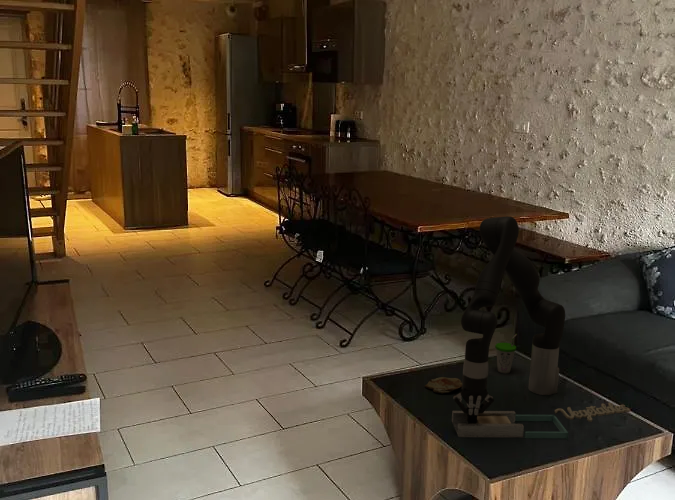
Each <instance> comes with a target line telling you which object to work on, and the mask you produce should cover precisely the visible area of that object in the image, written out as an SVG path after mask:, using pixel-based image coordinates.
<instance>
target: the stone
mask: <svg viewBox="0 0 675 500" xmlns="http://www.w3.org/2000/svg"><path fill="white" fill-rule="evenodd" d="M424 388H426V389H427V390H432V391H433V393H437V394H441V395H442V394H443V395H444V394H447V393H451V392H453V391H455V390H458V389H461V388H462V380H461V379H459V378H458V377H447V376H446V377H445V376H439V377H437V378H433V379H430V380H429V381H428V383H427V384H425V385H424Z"/></svg>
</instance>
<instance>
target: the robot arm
mask: <svg viewBox="0 0 675 500" xmlns="http://www.w3.org/2000/svg"><path fill="white" fill-rule="evenodd" d="M519 230H520V228H519V224H518V221H517V219H516V218H514V217H513V216H496V217H495V216H494V217H488V218H485V219H483V220H482V221H481V223H480V224H479V234H480V238H481V239H482V242H483V244H484V245H485V246H486V248H487V249H488V250H489V252H490V253H491V254H492V255H493V256H492V257H491V259H490V260H489V261H488V263H487V264H486V265H485V266H484V267H483V268H482V270H481V271H480V273H479V275H478V277H477V280H476V284H475V286H474V287H475V288H474V291H473V295H472V297H471V300H470V301H469V303H468V305H467V307H466V309H465V310H464V311H463V314H462V316H461V320H460V324H461V325H460V326H461V328H462V330H463V331H465V332H466V333H474V334H479V335H482V337H477V338H475V337H474V338H469V339H467V341H466V343H465V349H464V360H463V366H462V378H461V379H462V380H461V382H462V387H461V388H460V390H459V393H457V394H453V396H452V398H453V400H454V402H455V403H456V405H457V406H458V407H459V409H460V411H463V412H464V413H467V422H468V424H476V423H477V415H478V414H479V413H484V411H487V410H488V409H489V407H491V405H492V404H493V403H494V402H495V399H494V397H493V396H492V395H491V394H489V392H488V389H487V388H488V378H489V377H488V376H489V354H490V346H491V341H492V339H493V336H494V334H495V332H496V329H497V325H498V318H497V316H496V314H495V313H494V312H491V311H487V310H480V309H482V308H488V307H492V306H495V304H496V303H497V299H498V295H499V291H500V285H501V282H502V278H503V275H504V273H505V275H506V276H507V277H508V279H509V281H510V282H511V284H512V286H513V287H514V288H515V290H516V292H517V294H518V296H519V297H520V298H521V300H522V302H523V304H524V307H525V309H526V311H527V314H528V316H529V317H530V319H531V321H532V322H533V323H535V324H536V325H539V326H541V327H544V333H537V334H534V335H533V337H532V342H531V343H532V345H531V353H530V354H531V356H530V365H529V367H530V368H529V377H528V391H530V392H532V393H534V394H537V395H540V396H551V395H553V394H558V387H559V386H558V384H559V376H560V367H559V366H558V364H559V353H560V343H561V341H562V338H563V334H564V328H565V321H566V309H565V307H564V306H563V305H562V304H560V303H557V302H554V301H550V300H547V299H546V298H544V297H543V295H541V293H540V291H539V285H540V280H541V279H540V278H541V277H540V275H539V272H538V270H537V268H536V267H535V265H534V263H533V262H532V260H530V259H529V257H527V256H526V255H524V254H522V253H521V252H520V251H518V250H516V249H515V246H516V245H517V240H518V237H519ZM462 400H464V402H465V403H466V406H465V404H463V402H462Z"/></svg>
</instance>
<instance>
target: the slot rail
mask: <svg viewBox="0 0 675 500" xmlns="http://www.w3.org/2000/svg"><path fill="white" fill-rule="evenodd" d="M451 414H452V415H451V422H452V425H453V428H454V430H455V432H456V434H457V437H458V438H524V432H525V429H524V427H525V426H524V424H523V423H516V421H515V416H516V415H517V413H516V412H515V410H485V411H484V413H479V414H478V415H477V416H507V417H508V419H509V421H510V422H511V424H468V422H467V413H464V412H463V411H462V410H452V413H451Z"/></svg>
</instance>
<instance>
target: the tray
mask: <svg viewBox="0 0 675 500" xmlns="http://www.w3.org/2000/svg"><path fill="white" fill-rule="evenodd" d="M515 422H552V423H553V424H554V426H555V427H556V428H557V429H558V431H524V438H525V439H565V440H567V441H568V440H569V432H568V430H567V429H566V428H565V427H564V425H563V424H562V422H561V421H560V420H559V419H558V417H557V416H556V415H555V414H516V416H515Z"/></svg>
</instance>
